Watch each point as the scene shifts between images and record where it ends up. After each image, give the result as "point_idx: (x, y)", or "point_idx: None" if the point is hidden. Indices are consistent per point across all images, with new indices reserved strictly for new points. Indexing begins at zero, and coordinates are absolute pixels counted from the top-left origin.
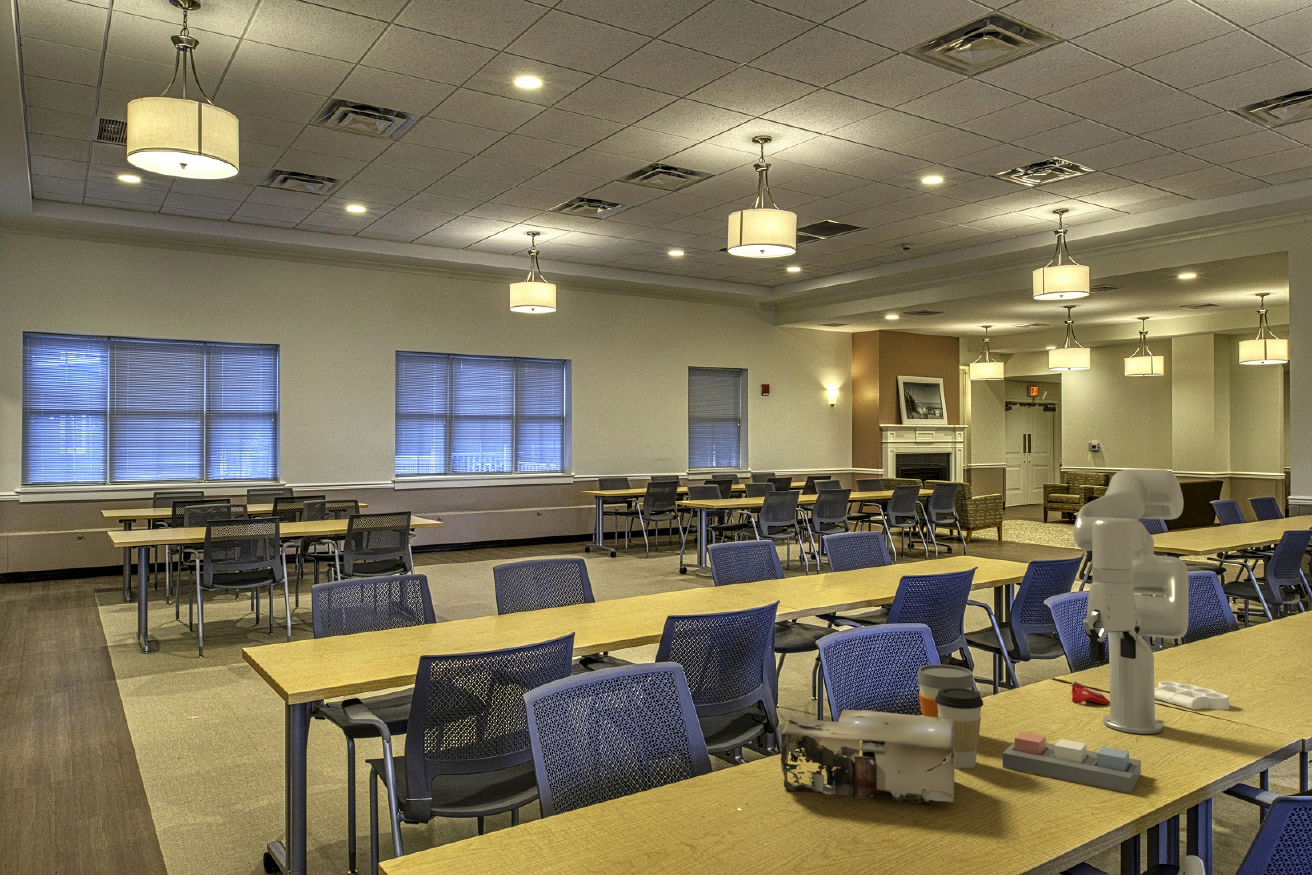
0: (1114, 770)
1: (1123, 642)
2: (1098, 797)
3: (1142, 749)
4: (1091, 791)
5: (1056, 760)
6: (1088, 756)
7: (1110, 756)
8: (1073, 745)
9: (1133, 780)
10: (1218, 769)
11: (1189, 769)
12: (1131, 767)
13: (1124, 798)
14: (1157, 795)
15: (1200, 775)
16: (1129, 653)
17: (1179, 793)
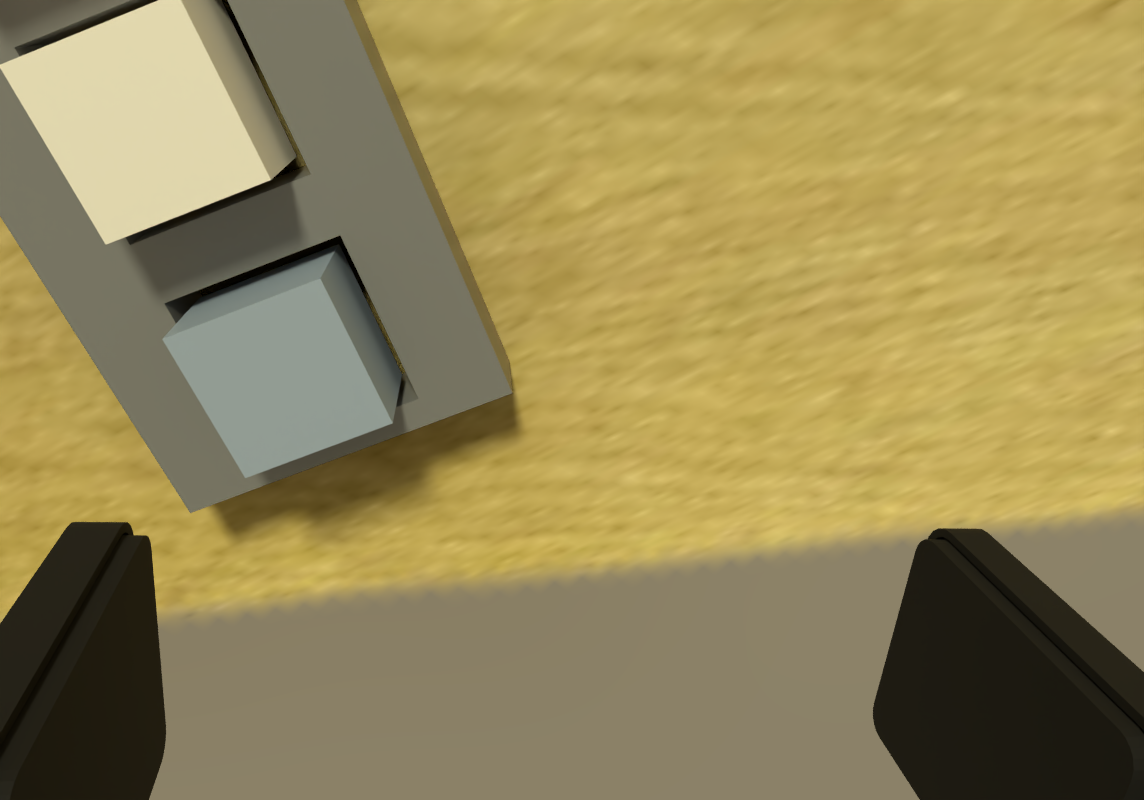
0: None
1: (1059, 759)
2: (6, 423)
3: (946, 129)
4: (39, 358)
5: (4, 104)
6: (308, 167)
7: (208, 407)
8: (143, 151)
9: None
10: (903, 508)
11: (796, 441)
12: None
13: (126, 492)
14: (314, 543)
15: (750, 507)
16: (920, 717)
17: (431, 576)
